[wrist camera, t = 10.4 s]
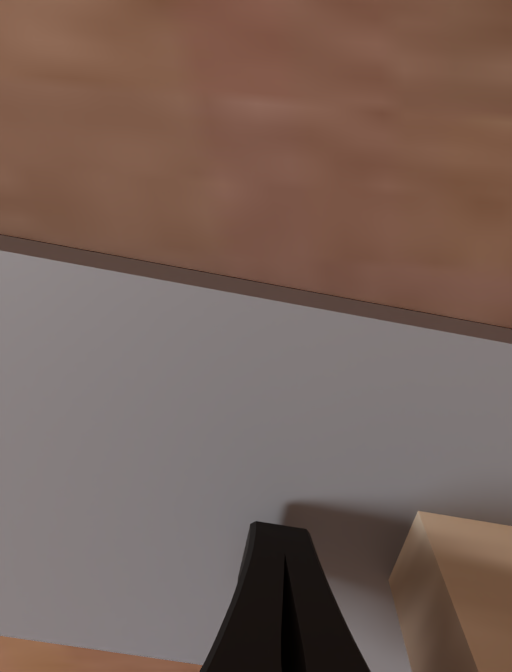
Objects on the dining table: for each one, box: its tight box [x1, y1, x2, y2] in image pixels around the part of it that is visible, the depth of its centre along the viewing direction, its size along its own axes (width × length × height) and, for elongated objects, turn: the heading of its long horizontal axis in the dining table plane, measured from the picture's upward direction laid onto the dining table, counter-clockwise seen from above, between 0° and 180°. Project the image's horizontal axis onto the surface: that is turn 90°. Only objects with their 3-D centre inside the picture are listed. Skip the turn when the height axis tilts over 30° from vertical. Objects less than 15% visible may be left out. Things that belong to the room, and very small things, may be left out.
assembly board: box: [0, 235, 512, 672], centre depth 13 cm, size 12×35×1 cm, turn 80°
